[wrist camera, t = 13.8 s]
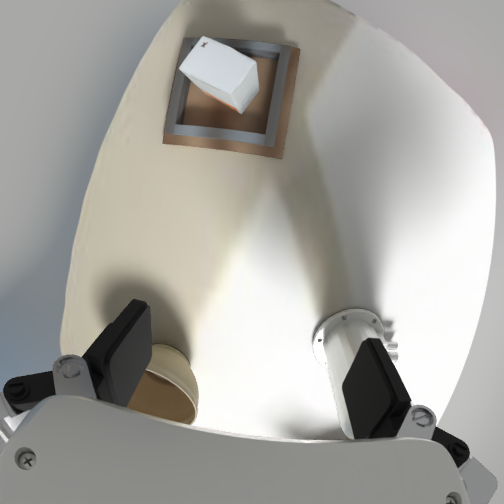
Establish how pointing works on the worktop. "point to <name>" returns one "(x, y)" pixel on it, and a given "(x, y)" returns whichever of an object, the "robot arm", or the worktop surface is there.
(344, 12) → the worktop surface
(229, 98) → the skincare box
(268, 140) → the socket stand
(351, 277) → the worktop surface
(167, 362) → the planter bowl
